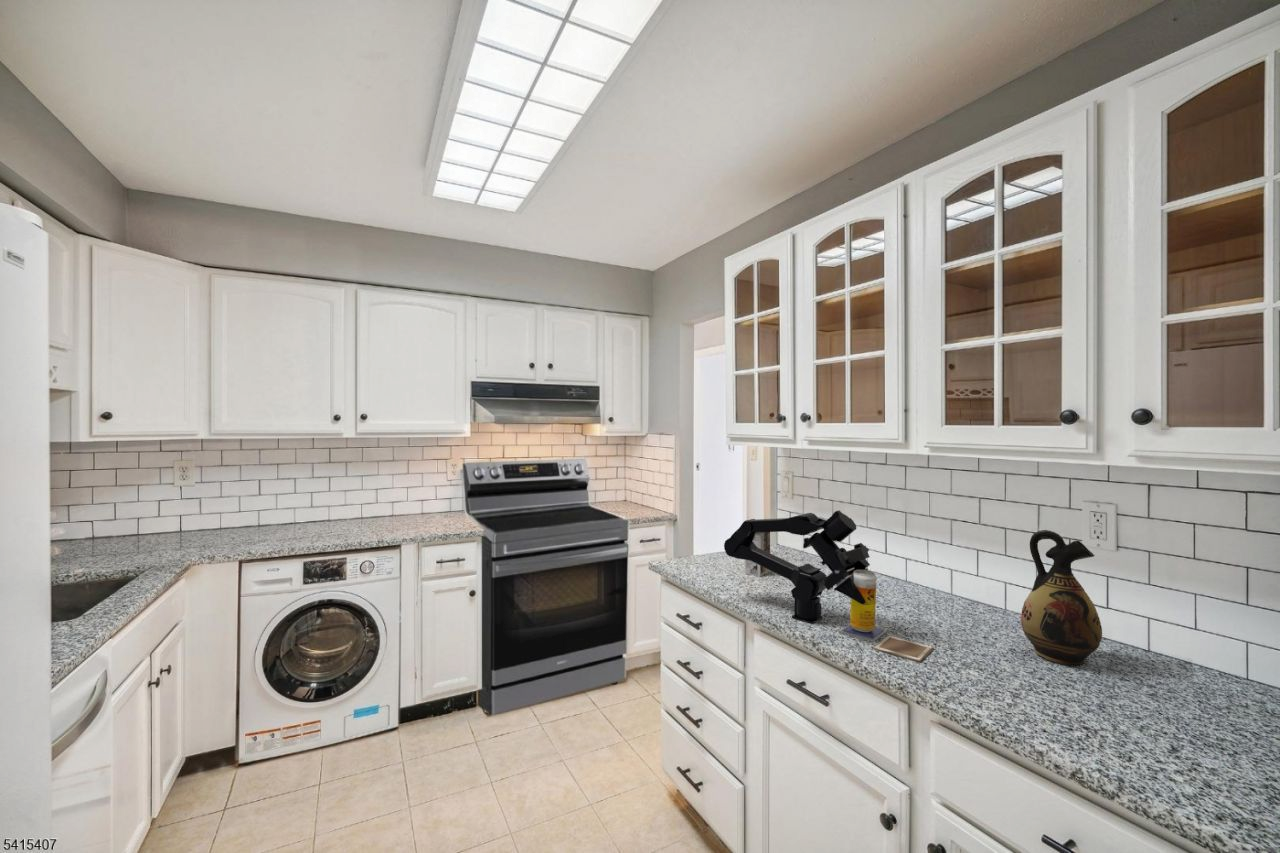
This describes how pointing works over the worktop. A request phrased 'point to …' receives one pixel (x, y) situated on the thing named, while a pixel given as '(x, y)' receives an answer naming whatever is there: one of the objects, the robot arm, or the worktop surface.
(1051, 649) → the ceramic jug
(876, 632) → the ink pad
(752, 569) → the coffee box
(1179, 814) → the worktop surface
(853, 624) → the beer can
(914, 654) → the marked square
